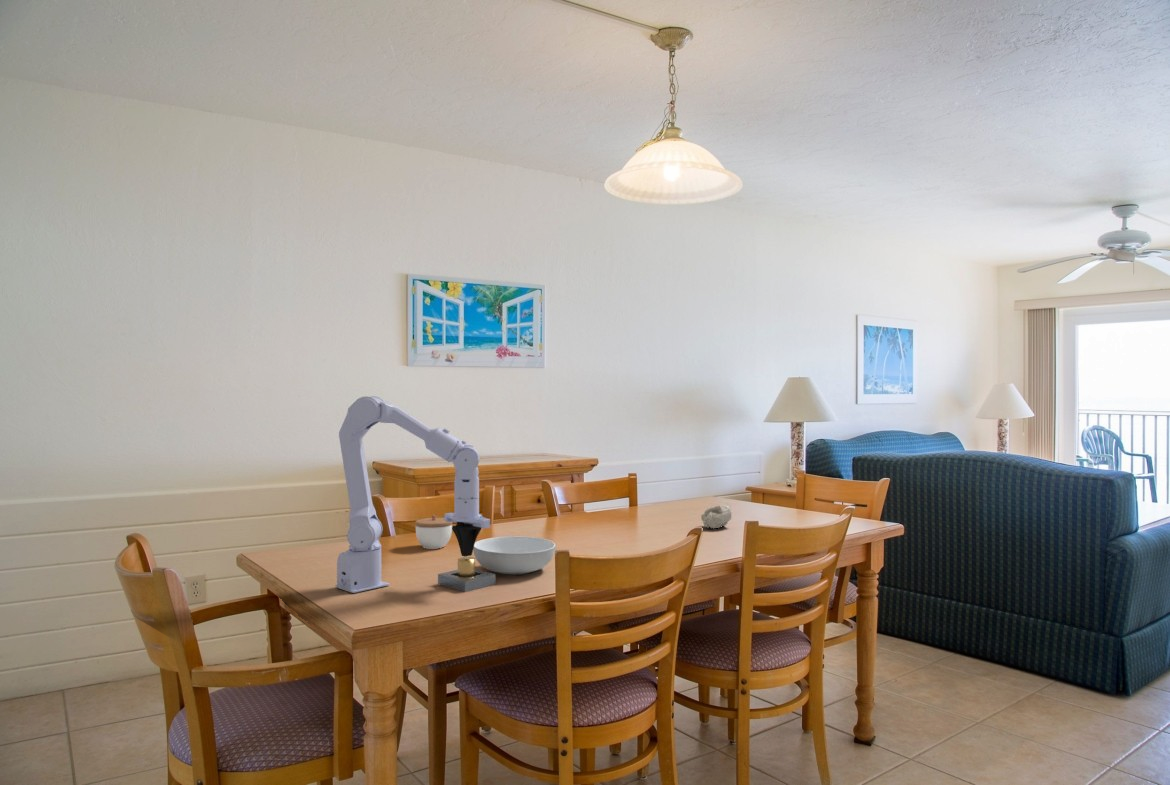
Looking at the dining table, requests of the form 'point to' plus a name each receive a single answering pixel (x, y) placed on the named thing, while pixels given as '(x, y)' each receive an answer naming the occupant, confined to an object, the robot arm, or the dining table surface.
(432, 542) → the lidded jar
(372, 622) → the dining table surface
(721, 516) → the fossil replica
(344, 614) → the dining table surface
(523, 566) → the serving bowl
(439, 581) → the frame
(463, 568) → the brass cylinder
